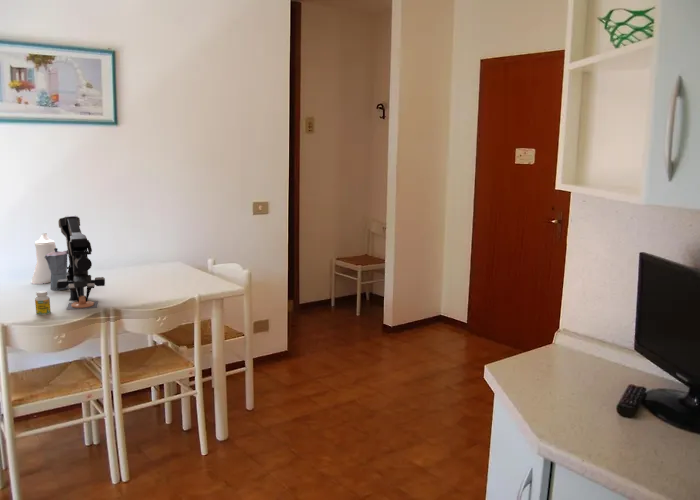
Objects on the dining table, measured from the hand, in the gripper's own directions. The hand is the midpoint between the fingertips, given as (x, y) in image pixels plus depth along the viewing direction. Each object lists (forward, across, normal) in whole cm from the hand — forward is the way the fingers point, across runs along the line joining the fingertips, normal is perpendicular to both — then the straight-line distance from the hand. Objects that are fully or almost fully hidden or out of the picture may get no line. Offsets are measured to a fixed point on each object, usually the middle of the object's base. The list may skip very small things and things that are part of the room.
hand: (82, 301), depth 260 cm
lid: (+2, 0, 0) cm, 2 cm away
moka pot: (+2, -12, +38) cm, 40 cm away
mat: (+2, 0, 0) cm, 2 cm away
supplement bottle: (+2, -14, -8) cm, 17 cm away
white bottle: (+2, -21, +54) cm, 58 cm away
